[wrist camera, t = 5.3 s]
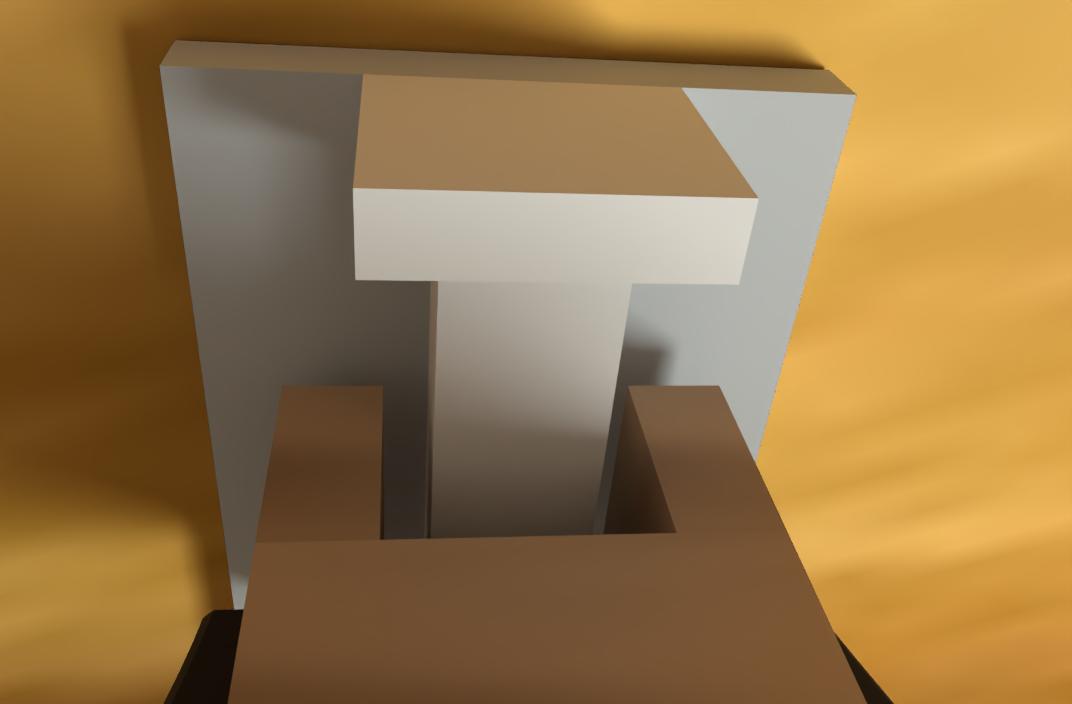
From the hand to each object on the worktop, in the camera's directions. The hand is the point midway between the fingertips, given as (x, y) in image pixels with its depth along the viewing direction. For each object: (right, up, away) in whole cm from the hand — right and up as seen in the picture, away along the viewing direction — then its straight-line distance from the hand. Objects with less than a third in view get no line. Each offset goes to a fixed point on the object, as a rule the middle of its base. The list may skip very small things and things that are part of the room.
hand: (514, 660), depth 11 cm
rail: (-1, 0, +4) cm, 4 cm away
